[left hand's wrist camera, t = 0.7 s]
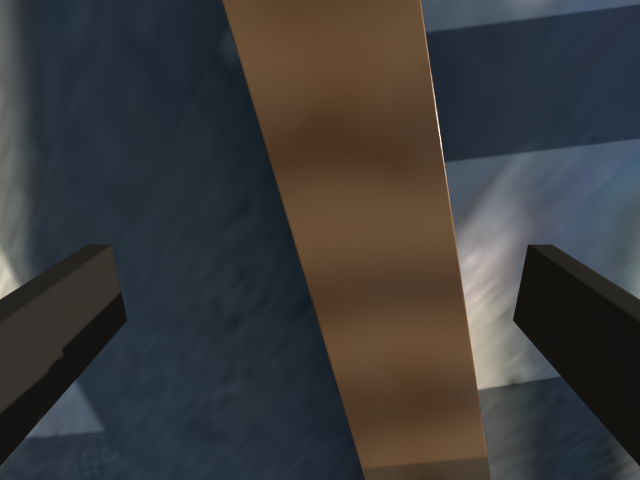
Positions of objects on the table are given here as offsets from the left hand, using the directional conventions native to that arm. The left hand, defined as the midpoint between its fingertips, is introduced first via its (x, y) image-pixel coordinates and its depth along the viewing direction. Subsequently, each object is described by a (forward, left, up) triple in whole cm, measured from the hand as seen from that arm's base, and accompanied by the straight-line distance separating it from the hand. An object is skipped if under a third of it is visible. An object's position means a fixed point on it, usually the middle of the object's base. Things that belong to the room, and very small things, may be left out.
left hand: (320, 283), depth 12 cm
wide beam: (+15, +21, -17) cm, 31 cm away
